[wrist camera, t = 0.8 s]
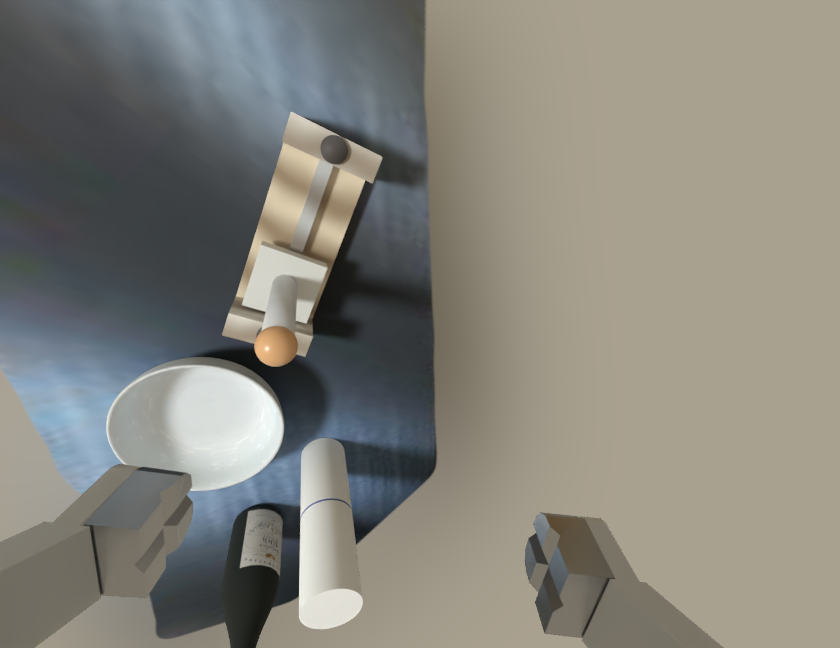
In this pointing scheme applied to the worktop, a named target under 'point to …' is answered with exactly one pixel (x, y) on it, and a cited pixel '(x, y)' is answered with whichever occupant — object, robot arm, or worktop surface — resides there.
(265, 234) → the rail
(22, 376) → the worktop surface
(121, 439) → the serving bowl
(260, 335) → the carriage
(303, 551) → the cylindrical container
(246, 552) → the wine bottle
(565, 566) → the robot arm
